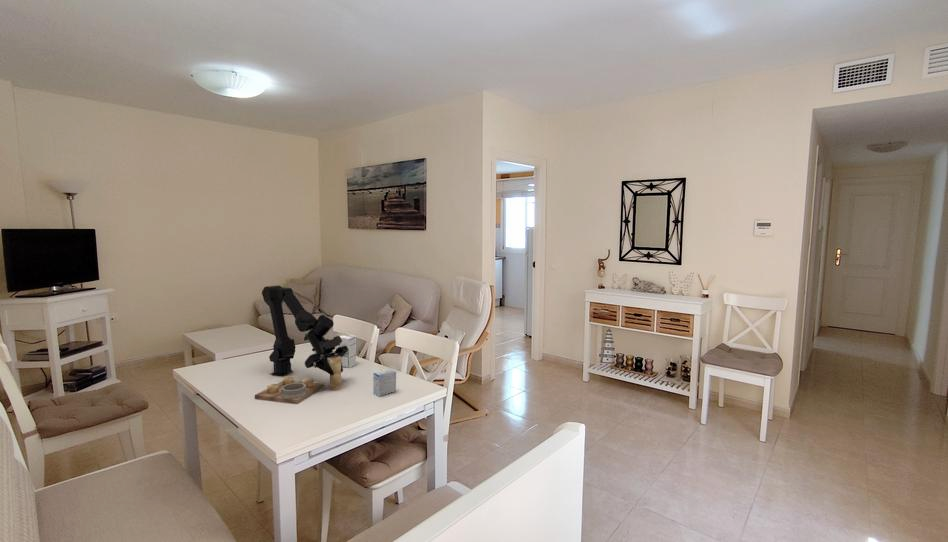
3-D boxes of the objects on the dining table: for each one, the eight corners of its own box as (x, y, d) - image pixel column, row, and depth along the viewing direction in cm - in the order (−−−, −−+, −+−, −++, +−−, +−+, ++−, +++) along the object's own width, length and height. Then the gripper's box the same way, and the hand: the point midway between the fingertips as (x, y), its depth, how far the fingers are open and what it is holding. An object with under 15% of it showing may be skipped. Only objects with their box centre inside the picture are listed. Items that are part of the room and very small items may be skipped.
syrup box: (356, 364, 206) (356, 335, 205) (349, 368, 201) (348, 337, 199) (346, 363, 208) (346, 333, 207) (338, 366, 202) (338, 336, 201)
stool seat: (254, 398, 162) (254, 387, 162) (285, 382, 180) (285, 372, 179) (297, 404, 158) (296, 392, 158) (324, 387, 176) (324, 376, 176)
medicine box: (389, 389, 176) (390, 368, 175) (396, 392, 172) (396, 371, 172) (372, 393, 170) (373, 372, 169) (379, 397, 167) (379, 375, 166)
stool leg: (327, 389, 173) (327, 358, 172) (333, 386, 177) (333, 355, 176) (337, 390, 172) (337, 359, 171) (343, 387, 177) (343, 356, 175)
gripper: (309, 335, 167) (329, 367, 162) (345, 326, 183) (364, 356, 178) (295, 351, 171) (315, 384, 167) (332, 342, 187) (351, 371, 183)
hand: (337, 373), depth 174 cm, fingers closed on stool leg, 4 cm apart
